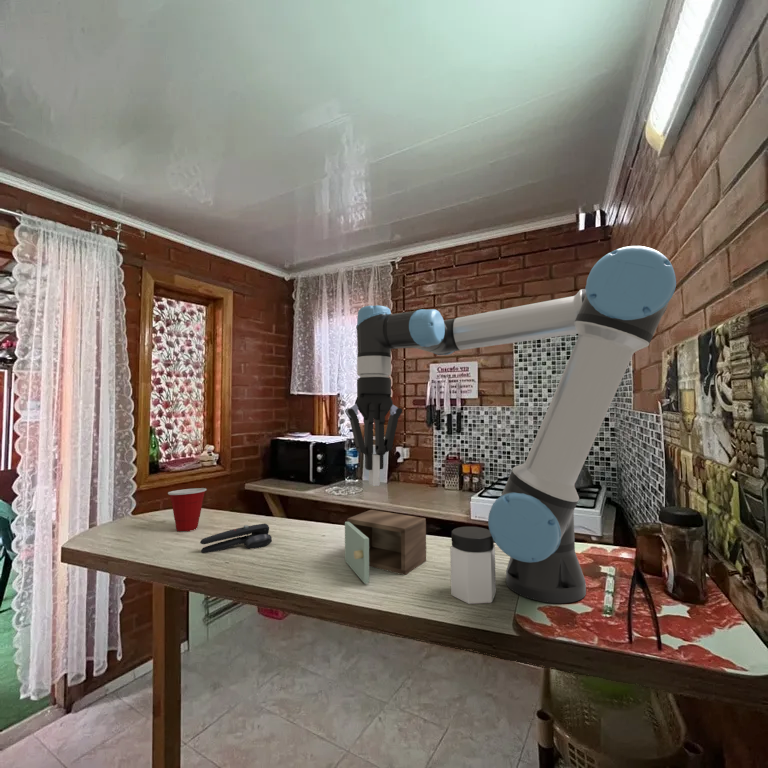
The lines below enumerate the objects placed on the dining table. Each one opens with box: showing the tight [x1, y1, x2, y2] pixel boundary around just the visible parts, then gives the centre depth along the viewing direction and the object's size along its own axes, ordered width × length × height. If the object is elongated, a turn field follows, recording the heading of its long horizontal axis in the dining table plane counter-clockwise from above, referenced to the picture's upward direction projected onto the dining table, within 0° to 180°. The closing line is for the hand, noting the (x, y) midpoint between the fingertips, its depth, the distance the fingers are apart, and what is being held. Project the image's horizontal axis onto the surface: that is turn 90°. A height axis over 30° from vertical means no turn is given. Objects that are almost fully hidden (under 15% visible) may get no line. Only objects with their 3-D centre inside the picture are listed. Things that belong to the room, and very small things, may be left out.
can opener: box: [199, 523, 272, 554], centre depth 110 cm, size 18×7×6 cm, turn 115°
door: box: [344, 521, 370, 584], centre depth 92 cm, size 14×3×9 cm, turn 22°
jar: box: [449, 526, 497, 605], centre depth 82 cm, size 9×8×12 cm
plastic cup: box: [167, 487, 208, 532], centre depth 127 cm, size 11×11×12 cm
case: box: [346, 509, 427, 576], centre depth 100 cm, size 16×10×10 cm, turn 57°
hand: (374, 484), depth 91 cm, fingers closed
